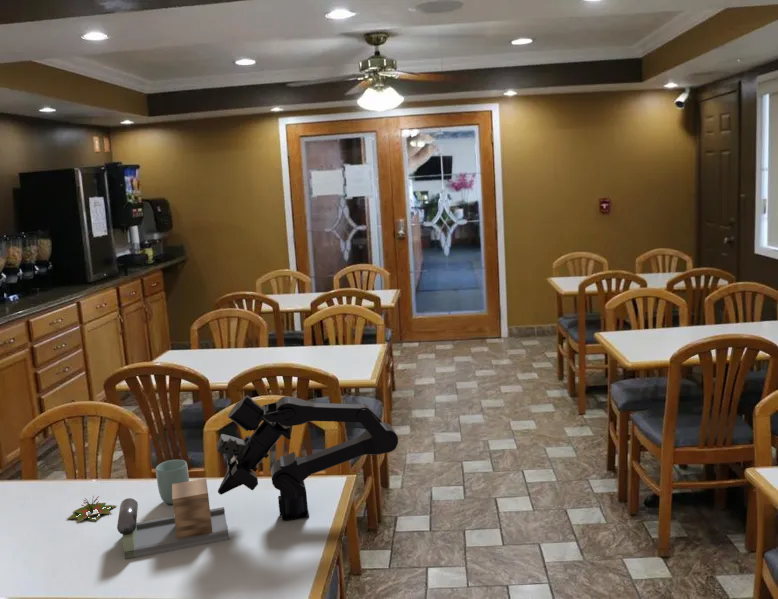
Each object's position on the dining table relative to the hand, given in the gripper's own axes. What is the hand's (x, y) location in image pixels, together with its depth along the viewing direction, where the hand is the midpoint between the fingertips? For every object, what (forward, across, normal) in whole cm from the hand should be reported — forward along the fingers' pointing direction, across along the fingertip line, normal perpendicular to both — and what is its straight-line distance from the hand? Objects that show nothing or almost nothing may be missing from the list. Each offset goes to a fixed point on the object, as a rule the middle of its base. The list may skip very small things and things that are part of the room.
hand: (219, 493), depth 177 cm
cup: (+14, -20, -1) cm, 24 cm away
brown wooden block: (+10, 0, +1) cm, 10 cm away
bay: (+14, 0, -1) cm, 14 cm away
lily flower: (+29, -22, -16) cm, 40 cm away
